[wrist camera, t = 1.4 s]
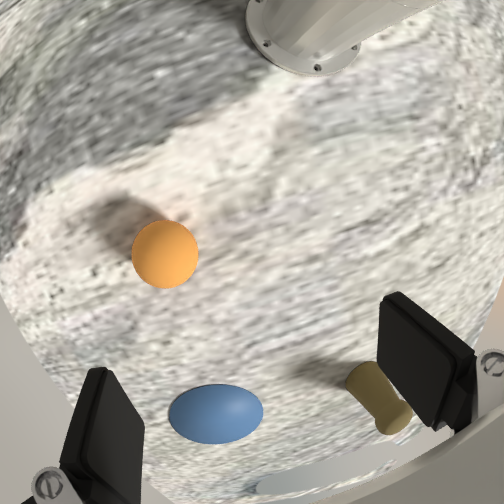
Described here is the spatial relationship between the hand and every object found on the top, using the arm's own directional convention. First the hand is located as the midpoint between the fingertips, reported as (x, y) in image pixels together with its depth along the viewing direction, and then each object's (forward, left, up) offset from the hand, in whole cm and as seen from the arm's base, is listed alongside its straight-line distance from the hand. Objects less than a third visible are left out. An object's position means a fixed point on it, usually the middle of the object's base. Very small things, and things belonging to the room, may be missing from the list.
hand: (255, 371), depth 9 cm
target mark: (+26, -5, -21) cm, 34 cm away
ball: (+1, -5, -18) cm, 19 cm away
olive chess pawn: (+26, +17, -21) cm, 38 cm away
